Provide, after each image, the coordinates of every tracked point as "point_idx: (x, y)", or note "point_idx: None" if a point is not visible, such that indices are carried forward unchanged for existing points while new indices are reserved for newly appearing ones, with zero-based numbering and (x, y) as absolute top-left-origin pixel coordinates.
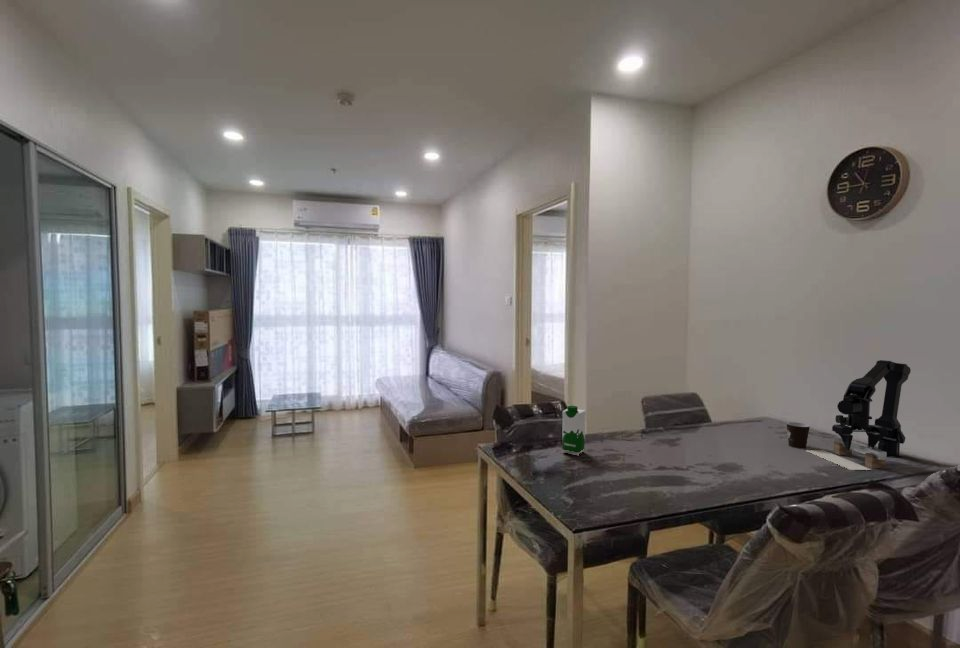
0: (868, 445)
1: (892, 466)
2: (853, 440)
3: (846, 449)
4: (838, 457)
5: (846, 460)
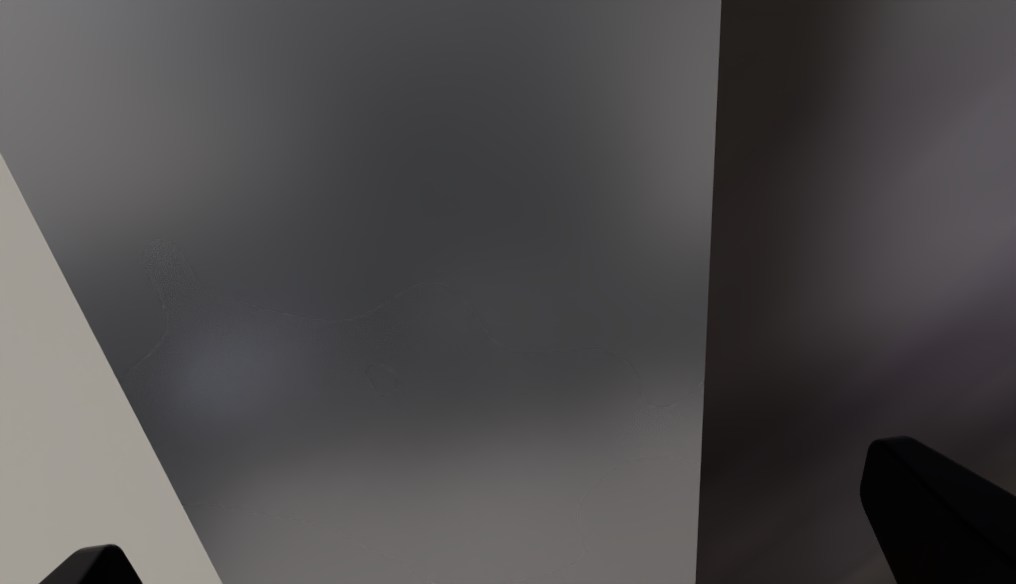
0: (985, 568)
1: (871, 528)
2: (690, 339)
3: (75, 575)
4: (41, 267)
5: (153, 452)
